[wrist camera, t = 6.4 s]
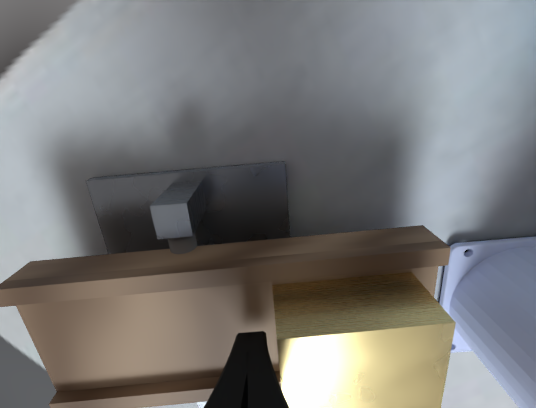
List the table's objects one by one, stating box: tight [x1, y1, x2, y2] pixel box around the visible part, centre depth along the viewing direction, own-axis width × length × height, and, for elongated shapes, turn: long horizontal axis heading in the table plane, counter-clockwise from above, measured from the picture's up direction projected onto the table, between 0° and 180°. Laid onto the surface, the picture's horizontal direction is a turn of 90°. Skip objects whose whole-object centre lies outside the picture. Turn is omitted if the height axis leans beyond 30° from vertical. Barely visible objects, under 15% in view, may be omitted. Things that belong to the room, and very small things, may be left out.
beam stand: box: [86, 161, 290, 408], centre depth 16 cm, size 10×13×4 cm
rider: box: [272, 272, 456, 408], centre depth 12 cm, size 6×4×3 cm
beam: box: [0, 225, 451, 408], centre depth 14 cm, size 18×8×3 cm, turn 95°
